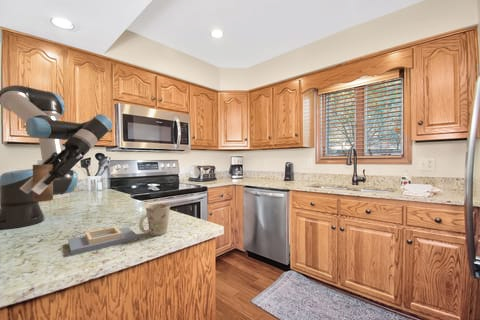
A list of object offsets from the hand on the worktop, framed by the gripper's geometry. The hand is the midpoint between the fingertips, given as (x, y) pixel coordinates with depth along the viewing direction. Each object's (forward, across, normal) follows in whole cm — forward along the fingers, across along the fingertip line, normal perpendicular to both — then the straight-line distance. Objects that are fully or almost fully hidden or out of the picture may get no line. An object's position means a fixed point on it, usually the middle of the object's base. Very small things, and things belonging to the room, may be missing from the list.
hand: (29, 191), depth 69 cm
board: (+5, -20, -19) cm, 28 cm away
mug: (-2, -32, -27) cm, 41 cm away
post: (0, 0, -5) cm, 5 cm away
